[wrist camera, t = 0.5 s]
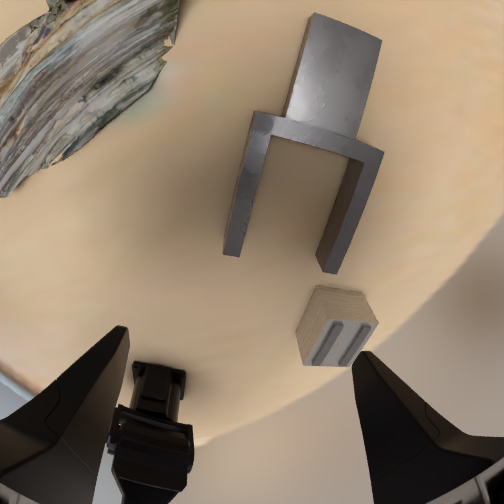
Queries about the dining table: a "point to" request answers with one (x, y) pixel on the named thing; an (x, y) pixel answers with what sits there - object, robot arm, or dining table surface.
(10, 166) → the rock
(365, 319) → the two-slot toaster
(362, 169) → the bracket
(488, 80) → the dining table surface
